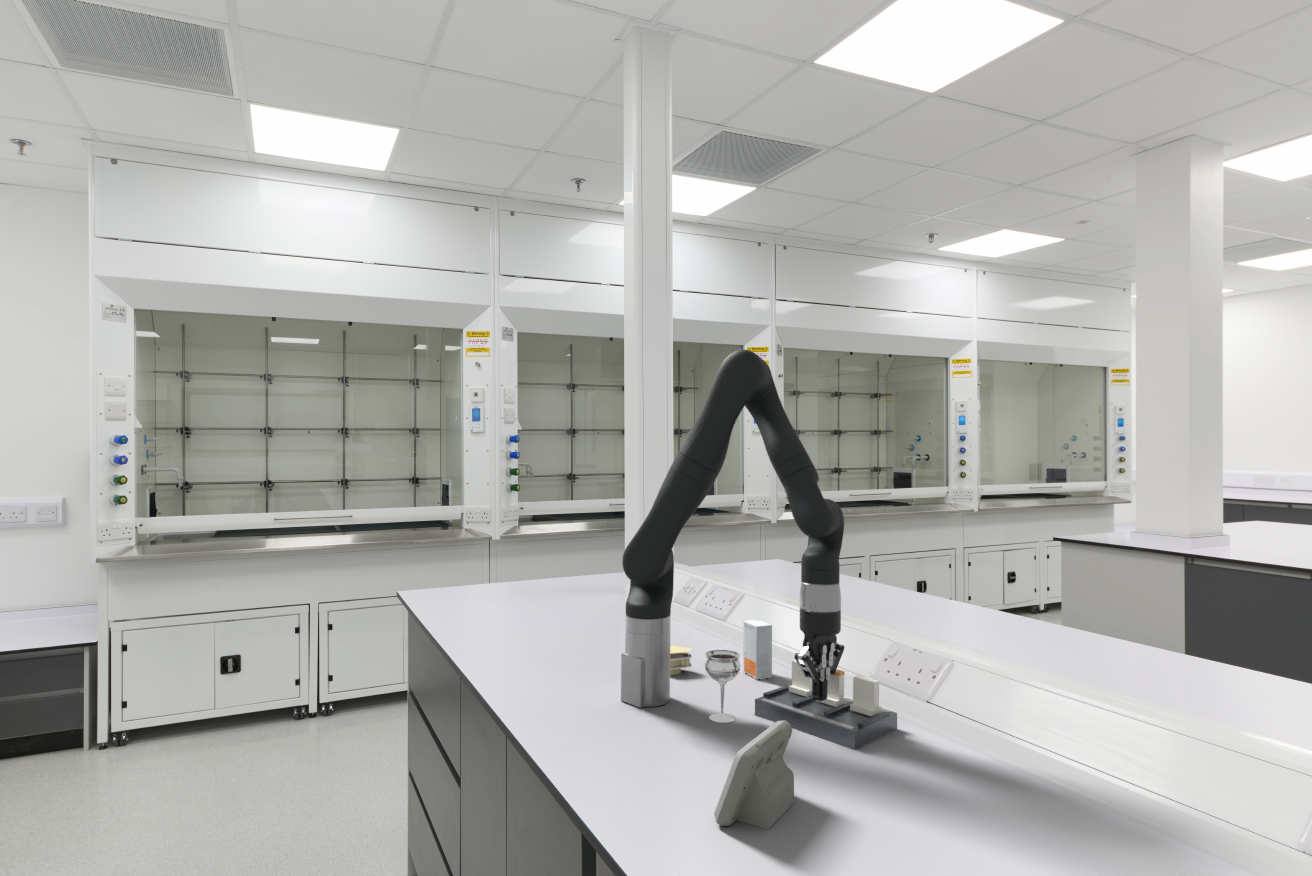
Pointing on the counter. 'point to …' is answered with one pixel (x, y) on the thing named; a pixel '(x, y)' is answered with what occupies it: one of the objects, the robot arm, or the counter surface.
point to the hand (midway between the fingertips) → (819, 699)
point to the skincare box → (757, 649)
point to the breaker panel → (825, 718)
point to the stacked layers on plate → (679, 659)
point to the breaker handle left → (800, 681)
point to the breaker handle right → (865, 696)
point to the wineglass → (722, 675)
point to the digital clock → (758, 781)
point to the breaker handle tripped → (836, 689)
